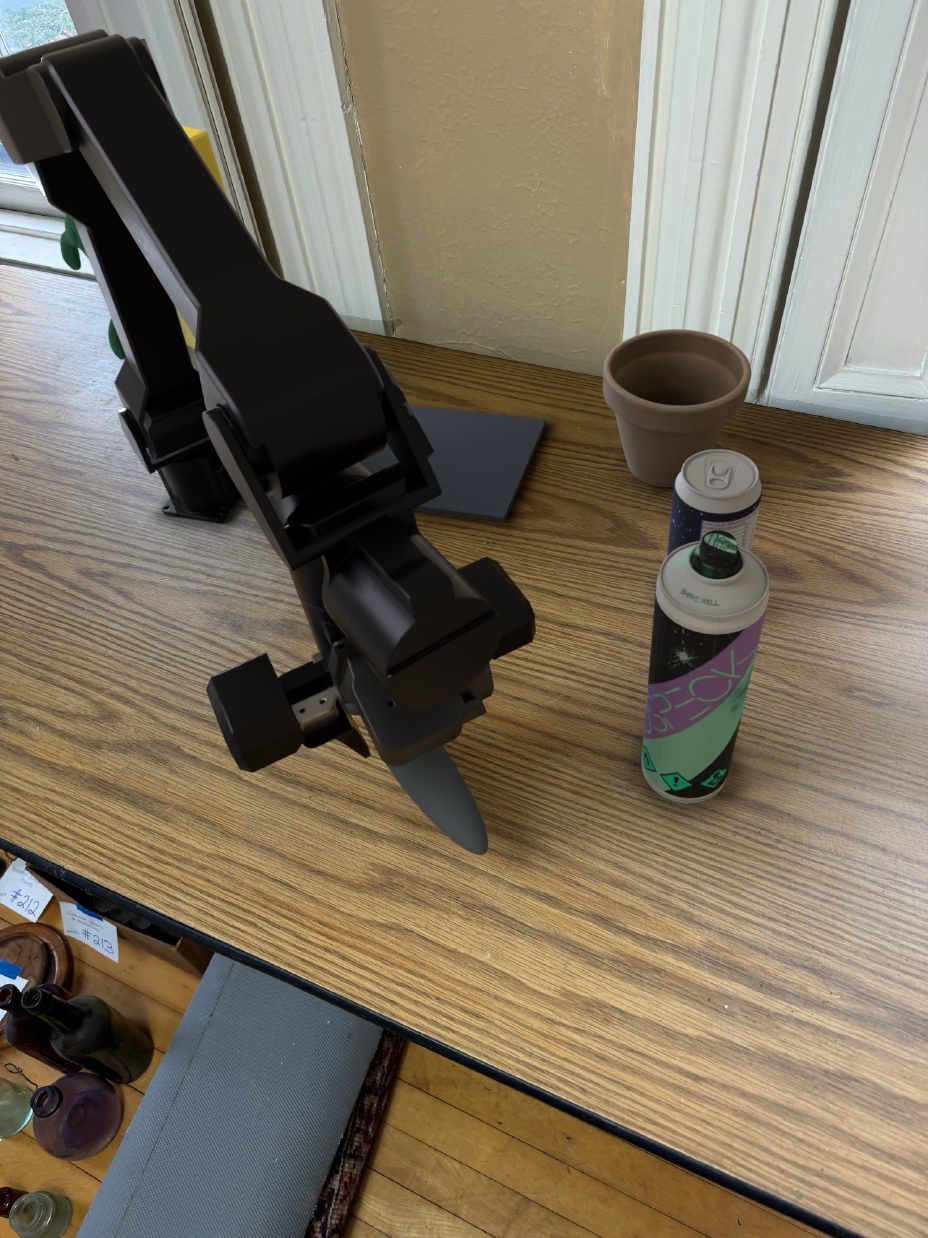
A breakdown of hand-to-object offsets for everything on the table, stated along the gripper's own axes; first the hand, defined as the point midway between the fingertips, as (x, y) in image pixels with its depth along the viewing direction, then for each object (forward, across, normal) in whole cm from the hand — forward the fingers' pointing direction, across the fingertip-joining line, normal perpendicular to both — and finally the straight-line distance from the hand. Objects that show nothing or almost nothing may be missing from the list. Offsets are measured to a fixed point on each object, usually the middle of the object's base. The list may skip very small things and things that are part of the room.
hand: (397, 737), depth 56 cm
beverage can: (+3, +26, +1) cm, 26 cm away
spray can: (+3, +16, -10) cm, 19 cm away
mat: (+3, +14, +30) cm, 33 cm away
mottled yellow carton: (+3, -1, +57) cm, 57 cm away
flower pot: (+3, +33, +16) cm, 36 cm away
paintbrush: (+2, +1, 0) cm, 2 cm away
